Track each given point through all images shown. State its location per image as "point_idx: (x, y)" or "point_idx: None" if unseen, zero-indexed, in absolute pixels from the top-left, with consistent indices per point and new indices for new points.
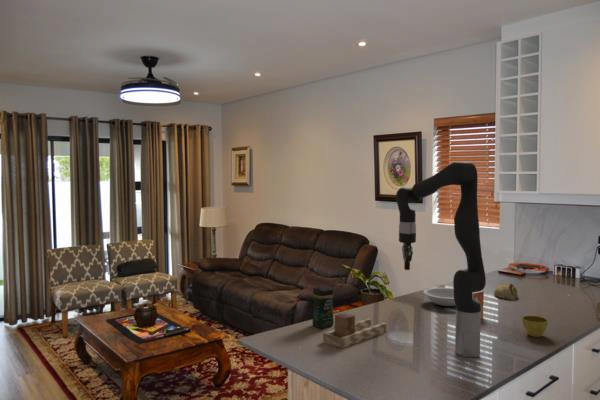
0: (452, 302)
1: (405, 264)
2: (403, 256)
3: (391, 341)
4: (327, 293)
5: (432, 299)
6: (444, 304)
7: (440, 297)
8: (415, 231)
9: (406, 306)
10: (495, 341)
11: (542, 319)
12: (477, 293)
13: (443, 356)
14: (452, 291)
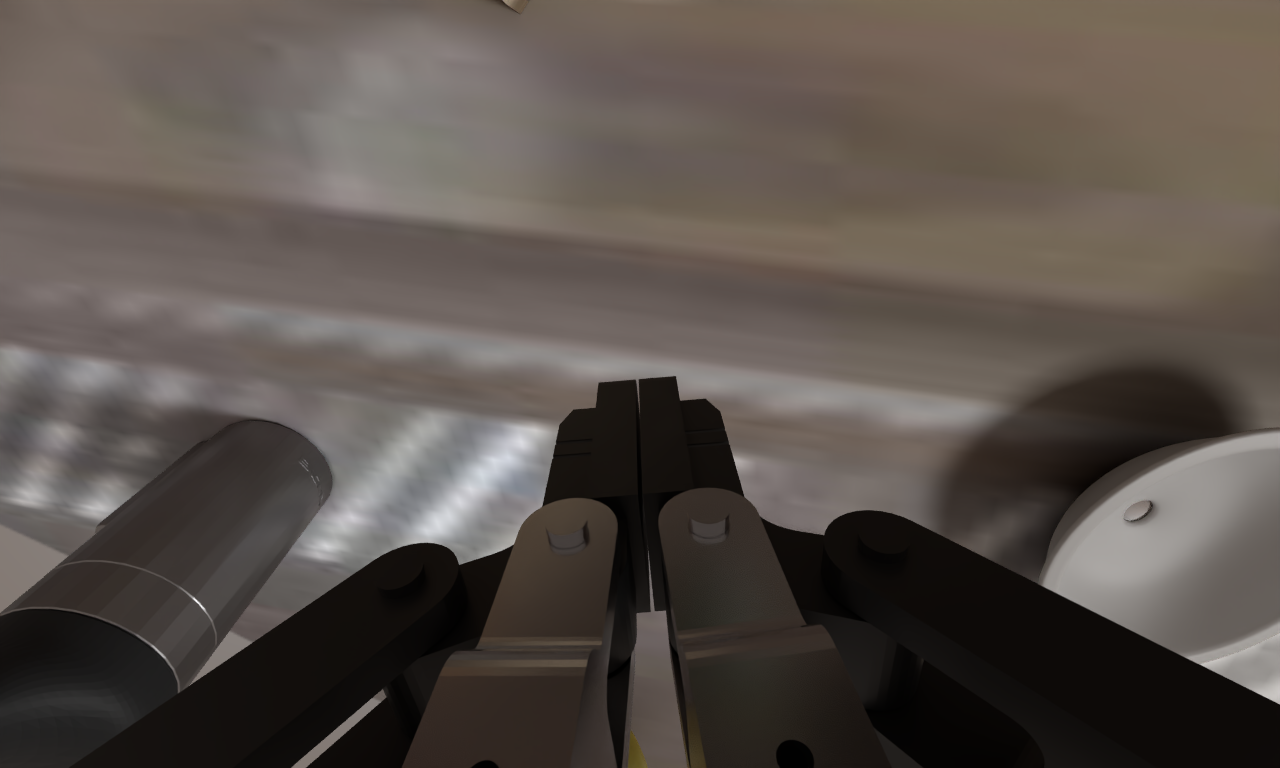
0: (1047, 556)
1: (596, 461)
2: (893, 590)
3: (301, 44)
4: None
5: (1149, 458)
6: (1070, 506)
7: (1092, 517)
8: None
9: (1183, 255)
10: None
11: None
12: None
13: (166, 353)
14: (1269, 600)
